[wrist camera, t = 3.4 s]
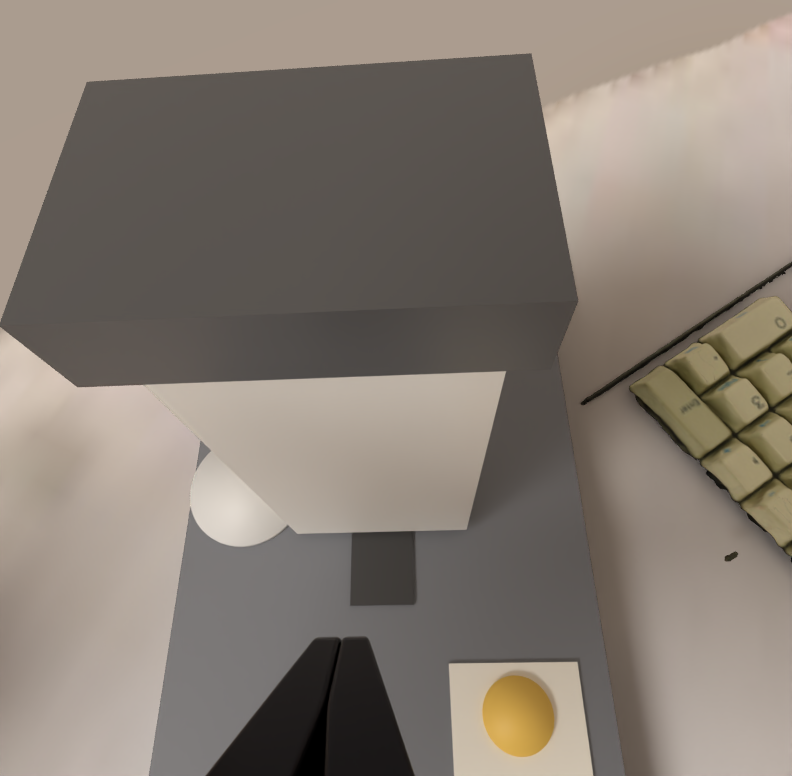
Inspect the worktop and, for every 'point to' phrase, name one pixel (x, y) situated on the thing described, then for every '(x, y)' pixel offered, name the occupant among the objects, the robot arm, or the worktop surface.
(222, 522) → the switch panel
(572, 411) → the worktop surface
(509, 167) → the lever
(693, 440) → the keyboard
